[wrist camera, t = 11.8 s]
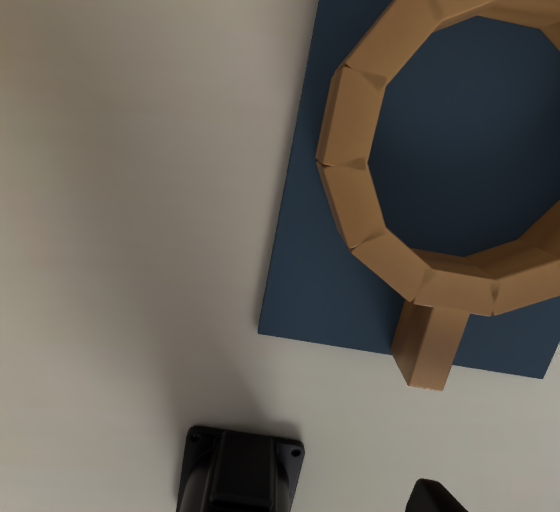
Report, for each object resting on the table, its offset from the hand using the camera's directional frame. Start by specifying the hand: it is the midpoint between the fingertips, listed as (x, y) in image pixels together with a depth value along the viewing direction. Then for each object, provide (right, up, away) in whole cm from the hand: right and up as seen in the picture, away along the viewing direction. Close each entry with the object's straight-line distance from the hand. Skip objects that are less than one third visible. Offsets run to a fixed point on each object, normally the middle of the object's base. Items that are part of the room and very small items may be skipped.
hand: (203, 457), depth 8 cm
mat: (+10, +8, +10) cm, 16 cm away
